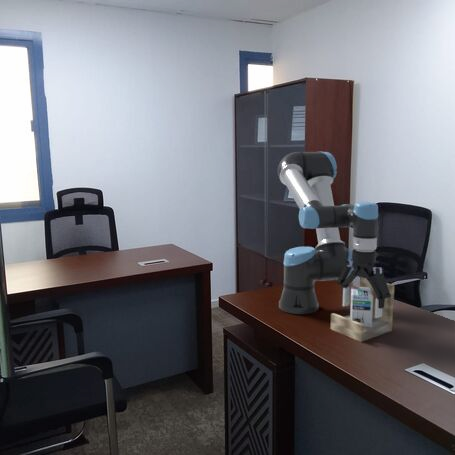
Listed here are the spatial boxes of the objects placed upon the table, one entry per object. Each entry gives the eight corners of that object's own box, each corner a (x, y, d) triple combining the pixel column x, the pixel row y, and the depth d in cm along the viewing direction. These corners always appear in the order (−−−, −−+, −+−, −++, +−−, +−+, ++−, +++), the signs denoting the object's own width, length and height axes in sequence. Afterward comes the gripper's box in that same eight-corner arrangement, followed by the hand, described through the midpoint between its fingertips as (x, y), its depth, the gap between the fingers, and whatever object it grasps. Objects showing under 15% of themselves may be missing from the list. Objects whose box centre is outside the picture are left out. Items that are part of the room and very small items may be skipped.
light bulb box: (372, 328, 150) (373, 296, 148) (351, 326, 151) (352, 295, 149) (369, 316, 160) (370, 286, 158) (349, 315, 161) (350, 285, 159)
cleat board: (330, 329, 157) (332, 283, 154) (361, 319, 165) (362, 276, 163) (360, 342, 146) (363, 293, 143) (391, 330, 155) (394, 285, 152)
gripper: (328, 244, 159) (326, 303, 163) (389, 258, 139) (385, 324, 142) (343, 242, 163) (340, 299, 167) (404, 255, 143) (400, 319, 146)
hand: (361, 311), depth 155 cm, fingers open, 13 cm apart
